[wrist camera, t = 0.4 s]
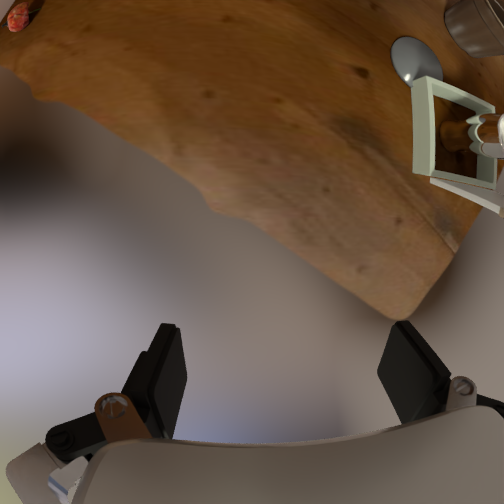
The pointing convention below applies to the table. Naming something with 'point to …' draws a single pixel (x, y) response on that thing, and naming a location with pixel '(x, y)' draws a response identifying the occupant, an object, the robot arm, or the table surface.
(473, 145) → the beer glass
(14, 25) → the pomegranate
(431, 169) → the frame
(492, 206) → the lid
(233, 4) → the table surface
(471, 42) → the plant pot
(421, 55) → the grey round coaster
